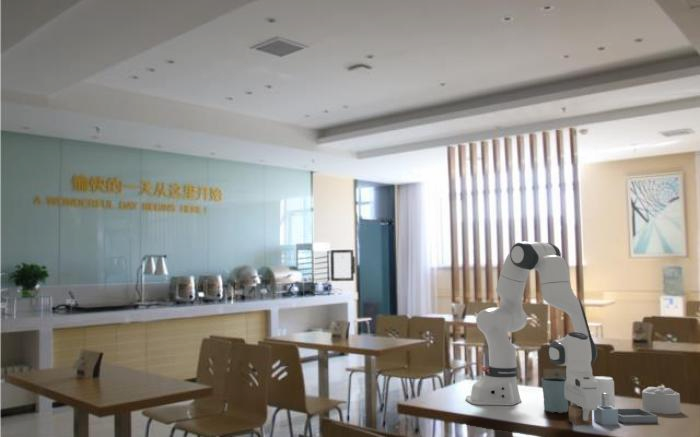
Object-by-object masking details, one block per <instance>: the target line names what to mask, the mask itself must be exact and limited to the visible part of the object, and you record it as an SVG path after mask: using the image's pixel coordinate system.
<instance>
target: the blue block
mask: <svg viewBox="0 0 700 437" xmlns="http://www.w3.org/2000/svg"><path fill="white" fill-rule="evenodd" d="M609 406H610V405H609ZM618 409H619V408H616V407H615V408H614V407H612V406H610V409H602V406H598V407H597V409H596V410H593V421H594V422H596V423H598V424H600V425H603V426H607V425H608V426H609V425H610V426H612V425H613V426H614V425H619V422H618Z"/></svg>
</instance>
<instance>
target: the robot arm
mask: <svg viewBox="0 0 700 437" xmlns="http://www.w3.org/2000/svg"><path fill="white" fill-rule="evenodd" d="M532 270H535V271H537V273H538V275H539V283H540V291H541V296H542V298H543V300H544V301H545V302H546V304H547V305H549V306H551V307H553V308H556V309H557V310H560V311H562V312H564V313H566V314H567V315H568V317H569V318H570V320H571V324H572V327H573V332H572V331H571V332H568V333H567V334H566V335H565V336H564V337H563V338H560V339H557V340H552V341H551V342H550V344H549V346H548V350H547V355H548V358H549V361H550V362H551V363H552V364H553V365H555V366H560V367H565V366H566V369H565V371H566V374H565V376H566V378H565V379H567V380H565V383H564V397H565V399H566V400H568V402H570V406H576V405H578V406H580V407H582V410H583V415H582V419H583V420H584V421H587V420H588V415H589V412H590V410H592V411H594V410H596V409H597V407H598V391H597V389H596V388H598V381H597V380H596V379H595V378H594V377H595V376H594V374H593V368H592V365H593V364H594V363H595V361H596V359H597V357H598V349H597V346H596V344H595V342H594V340H593V337H592V334H591V330H590V326H589V323H588V320H587V316H586V313H585V309H584V306H583V304H582V301H581V300H580V298H578V297H577V296H576V295H575V292H574V290H573V288H572V285H571V278H570V273H569V269H568V265H567V263H566V260H565V258H563V257H562V254H561V250H560V248H559V247H558V246H556V245H555V244H553V243H550V242H541V241H519V242H517V243H515V244H513V245H512V247H511V248H510V251H509V253H508V254H507V256H506V258H505V260H504V263H503V265H502V267H501V271H500V273H499V278H498V281H497V284H496V290H495V291H496V294H497V296H498V297H499V302H500V303H499V305H498V306H497V307H494V306H493V307H488V308H484V309H482V310H480V311H479V312H478V313H477V314H476V319H475V320H476V321H475V323H476V326H477V329H479V331H480V332H481V333H482V334H483V335H484V338H485V340H486V342H487V346H488V359H489V360H488V361H489V362H488V363H489V365H488V366H484V365H483V366H482V367H481V371H482V372H484V375H483V376H482V377H481V378H479V379H478V380H477V381H476V382H474V383H473V384H472V387H471V391H470V392H471V393H470V394H469V395H466V397H465V401H466V402H468V403H470V404H473V405H479V406H480V405H481V406H514V405H516V404H520V403H522V400H521V396H520V391H519V387H518V385H519V384H518V379H519V371H518V370H519V369H518V366H517V349H516V347H515V345H514V344H513V343H511V341H510V339H509V338H510V337H509V333H516V332H519V331H520V330H523V329H524V328H525V327H526V325H527V323H528V317H527V314H526V312H525V310H524V308H523V300H524V299H523V297H524V293H525V289H526V285H527V282H528V278H529V273H530V271H532Z"/></svg>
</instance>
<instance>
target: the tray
mask: <svg viewBox="0 0 700 437" xmlns="http://www.w3.org/2000/svg"><path fill="white" fill-rule="evenodd" d="M617 409H618V423H621V424H623V425H625V424H626V425H628V424H631V423H636V424H658V423H659V420H658V419H659V416H658V415H656V414H654V413H653V412H647V411H645V410H643V408H640V407H638V408H636V407H635V408H617Z"/></svg>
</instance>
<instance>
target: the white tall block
mask: <svg viewBox="0 0 700 437" xmlns="http://www.w3.org/2000/svg"><path fill="white" fill-rule="evenodd" d="M594 378H595V379H596V380H597V381H598V388H596V389H597V391H598V406H602V398H601V393H609V405H610V406H612V407H614V408H616V405H615V404H616V402H615V380H614V379H613V377H611V376H604V375H603V376H602V375H599V376H594Z"/></svg>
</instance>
